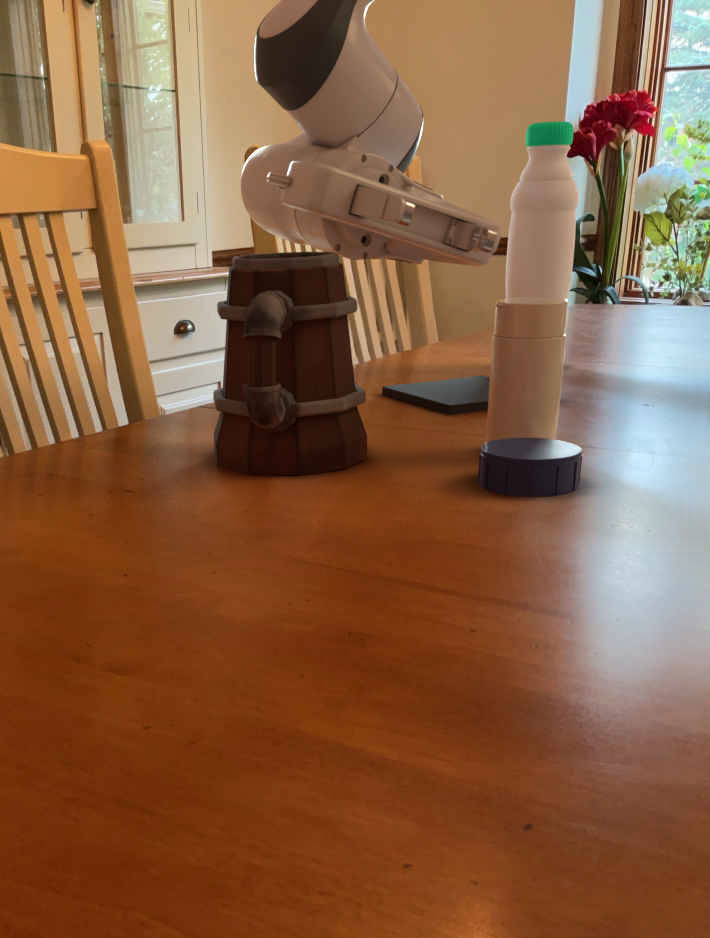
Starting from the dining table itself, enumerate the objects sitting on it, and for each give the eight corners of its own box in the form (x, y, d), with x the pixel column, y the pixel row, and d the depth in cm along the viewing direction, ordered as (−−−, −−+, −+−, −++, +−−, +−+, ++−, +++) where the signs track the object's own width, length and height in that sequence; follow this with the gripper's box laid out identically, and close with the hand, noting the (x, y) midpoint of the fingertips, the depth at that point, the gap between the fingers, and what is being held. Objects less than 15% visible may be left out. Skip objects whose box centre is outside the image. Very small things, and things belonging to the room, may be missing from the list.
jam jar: (522, 445, 83) (534, 295, 78) (569, 457, 79) (584, 300, 74) (470, 454, 81) (479, 300, 76) (516, 467, 76) (528, 305, 72)
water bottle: (495, 372, 116) (511, 122, 106) (503, 362, 122) (519, 125, 112) (561, 373, 114) (584, 118, 104) (565, 364, 120) (587, 122, 110)
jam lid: (458, 484, 73) (460, 446, 72) (524, 469, 76) (527, 433, 75) (531, 504, 67) (534, 464, 66) (598, 487, 71) (602, 449, 70)
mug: (232, 441, 88) (226, 251, 82) (376, 444, 85) (380, 248, 79) (178, 489, 74) (165, 265, 68) (347, 495, 71) (350, 262, 65)
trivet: (481, 385, 109) (482, 375, 108) (557, 403, 99) (558, 392, 98) (381, 396, 105) (382, 386, 104) (449, 416, 94) (450, 405, 94)
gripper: (267, 134, 87) (361, 148, 76) (447, 197, 98) (550, 217, 87) (247, 213, 89) (336, 237, 78) (425, 266, 100) (523, 294, 90)
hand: (450, 227), depth 83 cm, fingers open, 8 cm apart
